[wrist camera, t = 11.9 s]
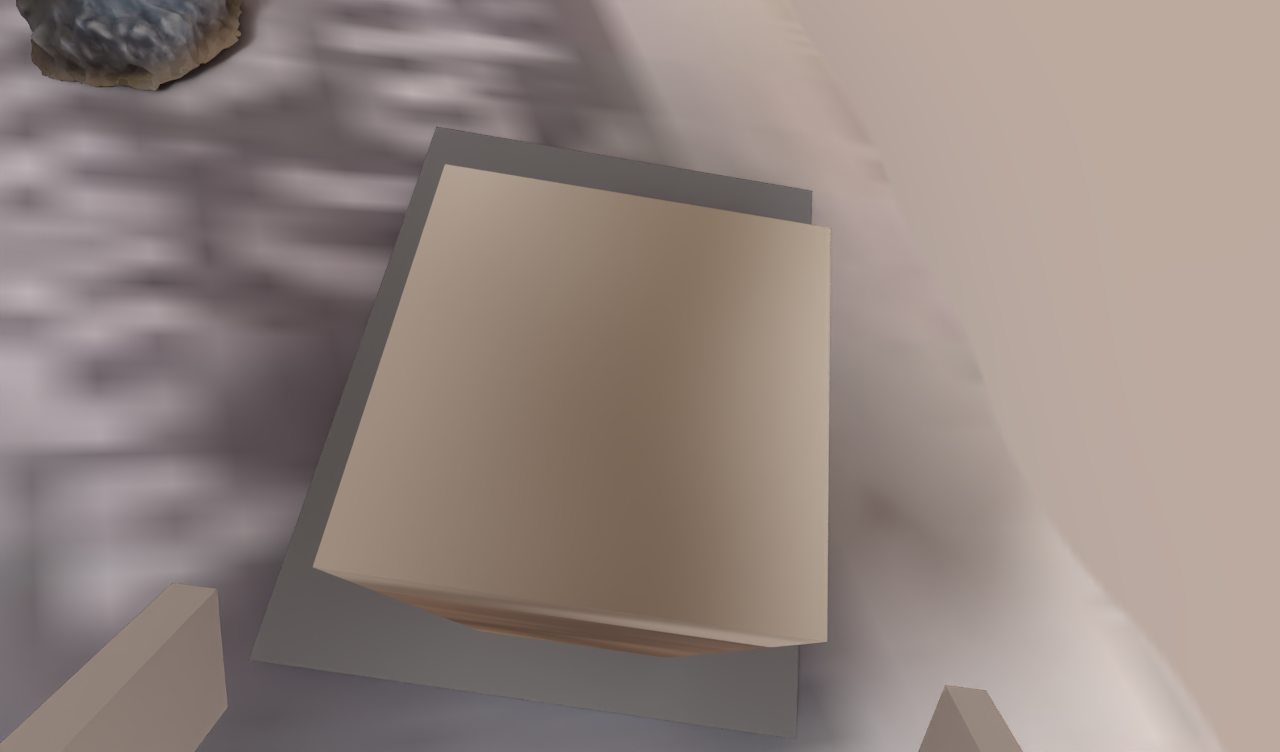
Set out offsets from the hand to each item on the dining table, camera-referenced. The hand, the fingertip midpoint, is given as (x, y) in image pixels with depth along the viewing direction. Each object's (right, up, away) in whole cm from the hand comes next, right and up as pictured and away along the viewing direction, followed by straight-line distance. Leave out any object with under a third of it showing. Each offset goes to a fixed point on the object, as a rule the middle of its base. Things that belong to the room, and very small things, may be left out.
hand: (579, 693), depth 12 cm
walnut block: (0, +1, +6) cm, 6 cm away
